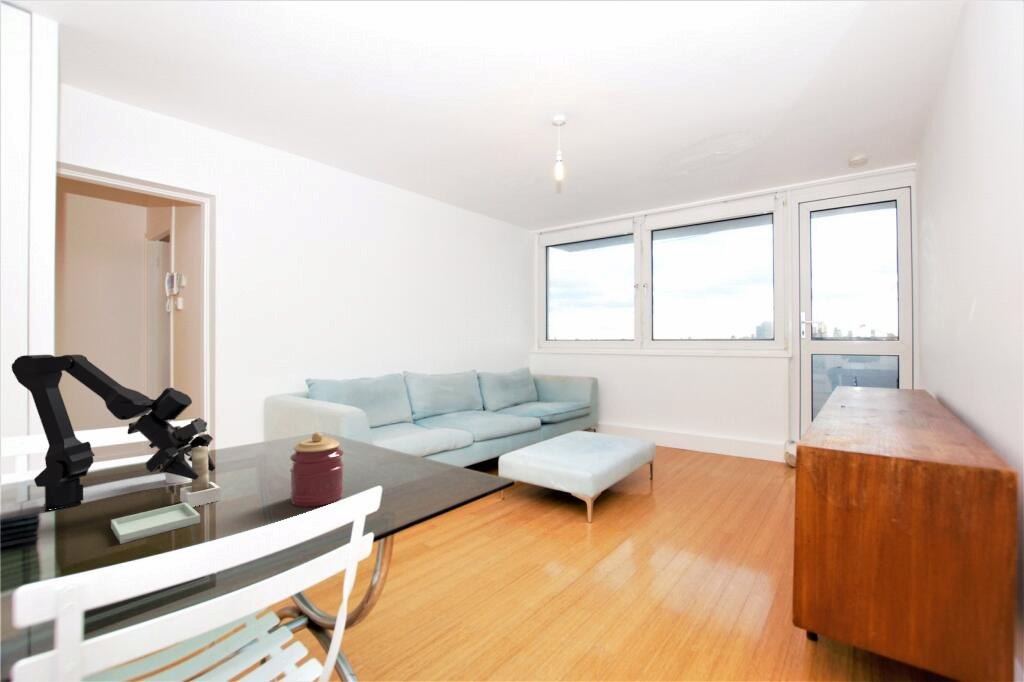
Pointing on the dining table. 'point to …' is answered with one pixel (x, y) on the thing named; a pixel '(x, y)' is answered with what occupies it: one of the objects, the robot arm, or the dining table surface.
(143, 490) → the dining table surface
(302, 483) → the canister
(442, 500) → the dining table surface
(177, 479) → the foam cup
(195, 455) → the dowel
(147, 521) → the tray
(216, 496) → the collar
